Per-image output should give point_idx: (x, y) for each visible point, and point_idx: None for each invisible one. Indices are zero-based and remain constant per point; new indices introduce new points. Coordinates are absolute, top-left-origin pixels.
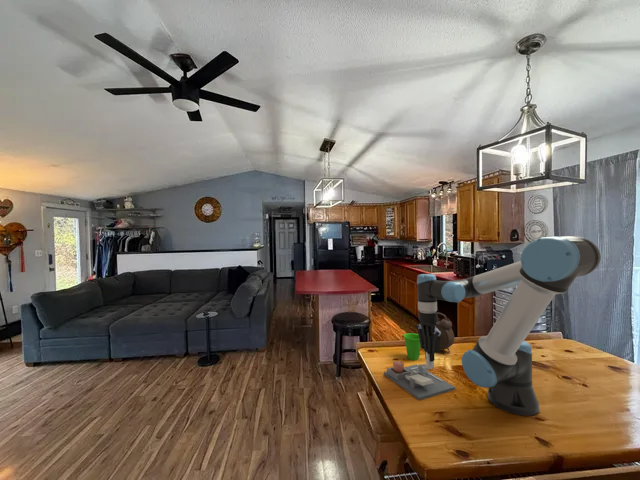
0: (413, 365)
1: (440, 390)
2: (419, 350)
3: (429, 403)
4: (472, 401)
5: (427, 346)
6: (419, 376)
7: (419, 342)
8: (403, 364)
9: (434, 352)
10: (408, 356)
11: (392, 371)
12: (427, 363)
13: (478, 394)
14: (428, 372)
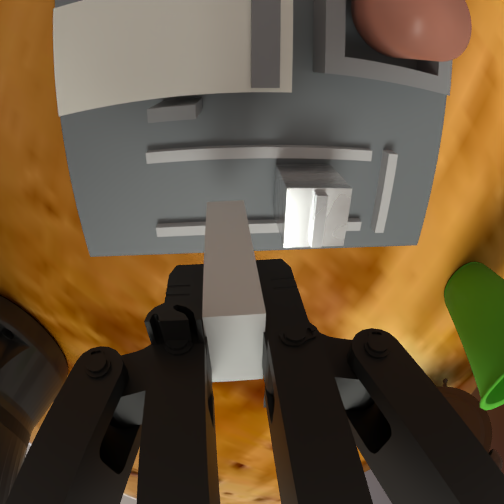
0: (421, 221)
1: (72, 149)
2: (460, 335)
3: (23, 22)
4: (3, 241)
5: (276, 419)
6: (185, 61)
7: (481, 372)
8: (392, 26)
9: (80, 373)
10: (484, 266)
11: None
12: (227, 226)
13: (50, 303)
14: None
